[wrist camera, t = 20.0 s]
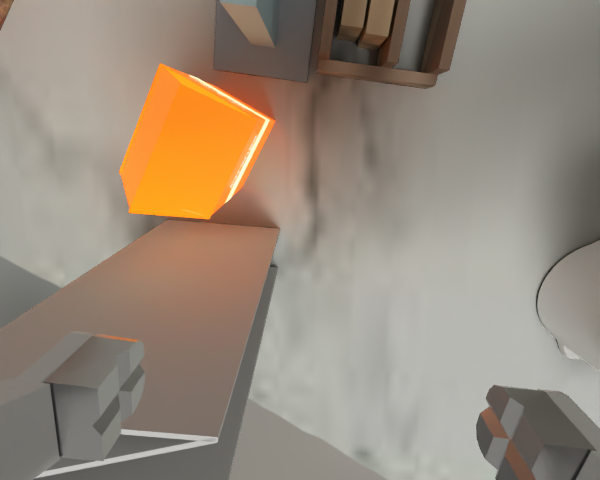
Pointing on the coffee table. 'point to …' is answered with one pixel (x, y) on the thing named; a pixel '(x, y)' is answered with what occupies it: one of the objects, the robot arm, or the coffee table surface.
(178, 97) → the orange juice
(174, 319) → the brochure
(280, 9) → the mat
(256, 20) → the light blue slab
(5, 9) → the book
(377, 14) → the offcut
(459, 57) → the coffee table surface
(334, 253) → the coffee table surface
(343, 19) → the offcut
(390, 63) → the rack
